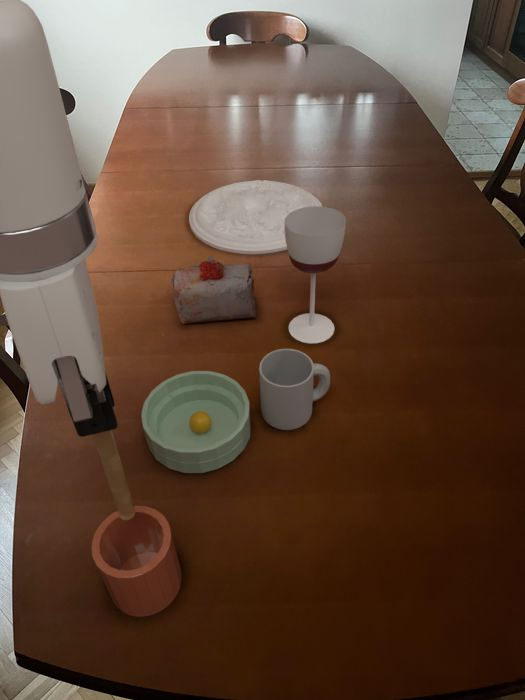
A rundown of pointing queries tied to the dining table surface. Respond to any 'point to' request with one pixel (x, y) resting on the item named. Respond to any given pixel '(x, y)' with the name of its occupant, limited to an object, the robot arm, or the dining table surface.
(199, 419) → the ball
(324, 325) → the wineglass
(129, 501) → the stirring stick
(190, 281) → the food item
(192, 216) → the ceiling medallion
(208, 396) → the bowl
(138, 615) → the utensil pot
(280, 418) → the cup
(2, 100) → the robot arm
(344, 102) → the dining table surface
